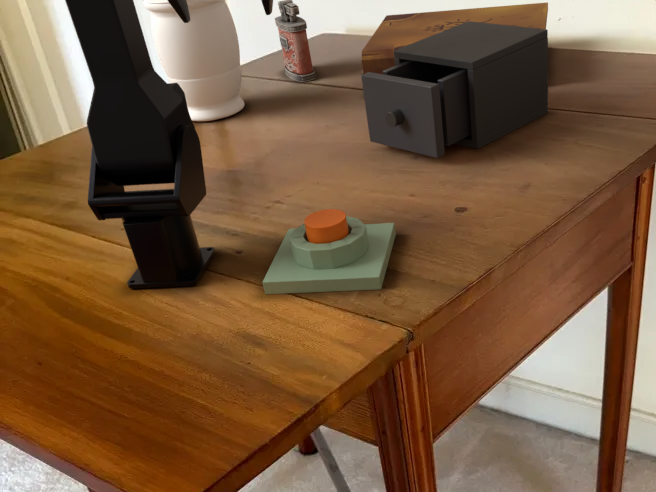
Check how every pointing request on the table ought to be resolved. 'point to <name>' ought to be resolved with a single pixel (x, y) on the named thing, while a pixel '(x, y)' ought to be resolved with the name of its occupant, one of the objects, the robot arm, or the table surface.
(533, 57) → the grey drawer box
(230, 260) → the table surface
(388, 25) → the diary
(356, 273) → the panel
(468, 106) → the dark grey drawer
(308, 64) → the lighter
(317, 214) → the button
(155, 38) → the jar
